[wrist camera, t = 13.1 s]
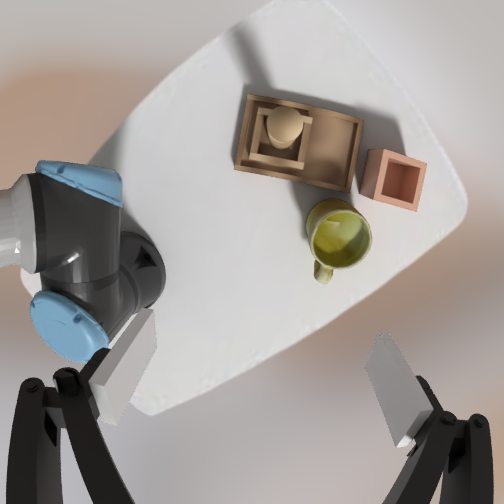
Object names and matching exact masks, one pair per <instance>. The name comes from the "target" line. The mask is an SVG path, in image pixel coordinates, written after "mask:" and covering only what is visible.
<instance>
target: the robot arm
mask: <svg viewBox="0 0 504 504" xmlns="http://www.w3.org/2000/svg"><path fill="white" fill-rule="evenodd" d="M35 171H36V173H31V174H22V175H21V176H20V177H19V179H18V180H17V181H16V182H15V183H14V185H13V186H12V187H11V188H9V189H6V190H0V267H4V266H8V265H13V264H17V265H19V266H21V267H22V268H23V269H24V270H26V271H27V272H28V273H29V274H34V273H38V272H40V278H41V285H42V290H41V291H39V292H37V293H36V294H35V295H34V298H33V300H32V301H31V304H30V315H31V319H32V322H33V324H34V326H35V328H36V330H37V332H38V334H39V335H40V337H41V338H42V339H43V340H44V341H45V343H46V344H48V345H49V346H50V348H51V349H53V350H54V351H55V352H56V353H58V354H59V355H61V356H62V357H64V358H66V359H68V360H71V361H73V362H78V363H87V364H86V365H85V366H84V367H83V369H82V370H81V371H80V373H79V372H78V371H77V370H76V369H74V368H70V367H67V368H61V369H59V370H58V371H56V372H55V373H54V375H53V381H54V384H55V386H56V388H53V387H45V385H44V383H43V382H42V380H40V379H39V378H28V379H26V380H25V381H24V382H22V384H21V386H20V390H19V394H18V399H17V404H16V409H15V415H14V420H13V425H12V432H11V439H10V447H9V455H8V467H7V483H6V504H63V497H62V484H61V462H60V461H61V460H60V436H61V434H60V433H61V428H66V429H67V432H68V435H69V439H70V442H71V445H72V449H73V452H74V455H75V458H76V461H77V463H78V466H79V469H80V472H81V475H82V477H83V480H84V483H85V485H86V487H87V490H88V492H89V495H90V497H91V499H92V501H93V504H135V502H134V500H133V499H132V497H131V495H130V493H129V491H128V489H127V488H126V486H125V484H124V482H123V480H122V478H121V476H120V474H119V472H118V470H117V468H116V466H115V463H114V462H113V459H112V457H111V455H110V452H109V450H108V448H107V446H106V443H105V441H104V438H103V436H102V433H101V431H100V429H99V426H98V423H97V421H96V420H97V418H98V417H99V415H100V417H101V419H102V422H105V423H107V424H110V425H114V426H117V425H118V423H119V421H120V419H121V417H122V415H123V413H124V411H125V408H126V407H127V405H128V403H129V401H130V399H131V397H132V395H133V393H134V391H135V389H136V387H137V385H138V383H139V381H140V379H141V377H142V375H143V373H144V371H145V370H146V368H147V366H148V364H149V362H150V360H151V358H152V356H153V354H154V352H155V350H156V349H157V344H156V331H155V317H154V310H152V309H147V308H149V307H150V306H152V305H153V304H154V303H155V302H156V301H157V299H158V298H159V297H160V295H161V294H162V292H163V289H164V286H165V281H166V273H165V267H164V264H163V261H162V259H161V257H160V255H159V253H158V251H157V250H156V249H155V247H154V246H153V245H152V244H151V243H150V242H149V241H147V240H146V239H145V238H143V237H141V236H139V235H137V234H135V233H131V232H120V231H121V209H122V208H123V203H122V179H121V176H120V175H119V174H118V173H117V172H116V171H115V170H112V169H108V168H103V167H97V166H91V165H84V164H75V163H69V162H59V161H45V160H41V161H39V162H38V163H37V166H36V167H35ZM135 313H138V314H137V315H136V316H135V318H134V319H133V320H132V322H131V323H130V324H129V326H128V327H127V328H126V330H125V331H124V332H123V334H122V335H121V336H120V338H119V339H118V341H117V342H116V343H115V345H114V346H113V347H112V349H108V346H109V343H110V342H111V341H112V340H113V338H114V337H115V336H116V335H117V333H118V332H119V331H120V330H121V328H122V327H123V326H124V324H125V323H126V322H127V321H128V320H129V318H130V317H131V316H132V315H133V314H135ZM365 368H366V371H367V373H368V376H369V378H370V381H371V383H372V386H373V388H374V391H375V393H376V396H377V398H378V401H379V403H380V406H381V409H382V411H383V414H384V417H385V419H386V422H387V425H388V428H389V430H390V433H391V436H392V439H393V441H394V444H395V447H402V446H408V445H409V444H410V443H411V441H412V440H413V439H415V442H416V445H415V446H414V447H413V448H412V450H411V451H410V452H409V453H408V455H407V456H409V457H408V459H407V461H406V463H405V465H404V467H403V469H402V471H401V472H400V474H399V476H398V478H397V480H396V482H395V483H394V485H393V487H392V489H391V490H390V492H389V494H388V495H387V497H386V499H385V500H384V502H383V503H382V504H430V501H431V499H432V496H433V494H434V492H435V490H436V487H437V485H438V482H439V480H440V477H441V475H442V472H443V479H442V488H441V495H440V502H439V504H493V494H494V493H493V492H494V490H493V488H494V485H493V484H494V483H493V458H492V447H491V436H490V428H489V423H488V420H487V419H486V417H484V416H483V415H480V414H473V415H472V416H471V417H470V418H469V420H457V418H456V416H455V415H454V414H452V413H451V412H448V411H444V410H443V409H442V407H441V405H440V403H439V402H438V400H437V398H436V396H435V395H434V394H433V391H432V389H430V386H429V384H428V383H427V381H426V380H425V379H424V378H422V377H421V376H415V375H414V373H413V371H412V369H411V368H410V366H409V365H408V363H407V361H406V360H405V358H404V356H403V354H402V352H401V351H400V349H399V348H398V346H397V344H396V343H395V341H394V339H393V338H392V336H391V335H390V333H389V332H378V334H377V337H376V340H375V343H374V345H373V348H372V351H371V354H370V356H369V359H368V361H367V364H366V367H365Z"/></svg>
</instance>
